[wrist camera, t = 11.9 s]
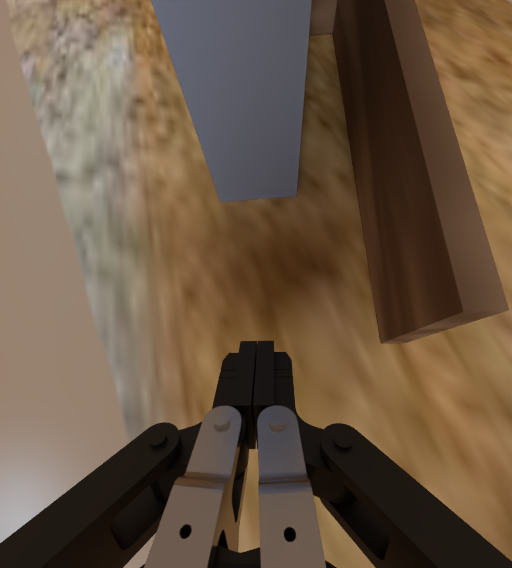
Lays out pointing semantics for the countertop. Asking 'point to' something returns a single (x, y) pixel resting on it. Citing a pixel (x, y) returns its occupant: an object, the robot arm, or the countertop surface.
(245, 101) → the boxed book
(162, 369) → the countertop surface
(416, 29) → the shelf corner
